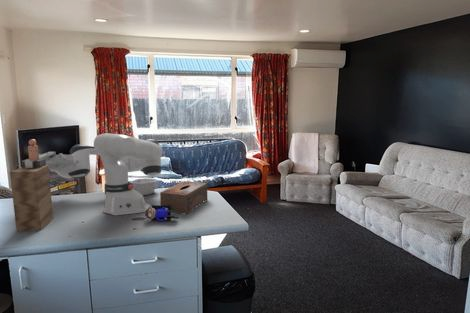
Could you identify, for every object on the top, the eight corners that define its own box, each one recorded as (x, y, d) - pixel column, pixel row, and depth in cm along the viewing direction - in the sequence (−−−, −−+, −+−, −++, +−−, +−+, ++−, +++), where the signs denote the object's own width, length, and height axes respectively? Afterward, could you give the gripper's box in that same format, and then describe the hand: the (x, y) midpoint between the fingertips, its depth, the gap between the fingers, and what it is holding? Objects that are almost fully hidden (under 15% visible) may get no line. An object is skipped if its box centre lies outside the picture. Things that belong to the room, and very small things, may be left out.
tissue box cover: (186, 214, 170) (185, 195, 169) (160, 211, 175) (160, 192, 173) (207, 200, 194) (207, 183, 193) (184, 197, 199) (184, 181, 197)
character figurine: (176, 224, 158) (144, 223, 159) (179, 217, 165) (149, 217, 166) (175, 208, 156) (143, 207, 157) (179, 202, 163) (147, 201, 164)
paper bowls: (135, 190, 215) (134, 177, 214) (159, 189, 215) (159, 177, 214) (128, 197, 200) (128, 183, 199) (155, 196, 200) (154, 183, 199)
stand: (53, 218, 163) (47, 158, 158) (41, 230, 149) (35, 164, 145) (30, 220, 162) (24, 159, 157) (16, 231, 148) (9, 164, 143)
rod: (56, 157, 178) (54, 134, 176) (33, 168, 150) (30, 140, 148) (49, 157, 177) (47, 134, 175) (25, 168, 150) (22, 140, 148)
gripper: (79, 168, 187) (71, 160, 174) (38, 169, 184) (27, 161, 171) (80, 157, 189) (72, 148, 177) (40, 158, 186) (29, 149, 174)
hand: (50, 154), depth 174 cm, fingers open, 8 cm apart
